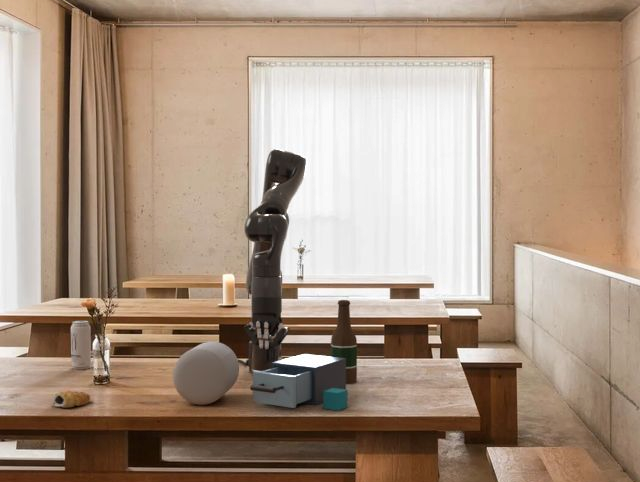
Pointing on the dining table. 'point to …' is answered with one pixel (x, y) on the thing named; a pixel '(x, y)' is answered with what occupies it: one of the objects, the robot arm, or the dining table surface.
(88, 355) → the energy drink can
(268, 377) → the drawer
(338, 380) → the cabinet
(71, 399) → the pastry
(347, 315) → the beer bottle
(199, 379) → the grey rounded piece
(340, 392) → the teal cube block
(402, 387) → the dining table surface
